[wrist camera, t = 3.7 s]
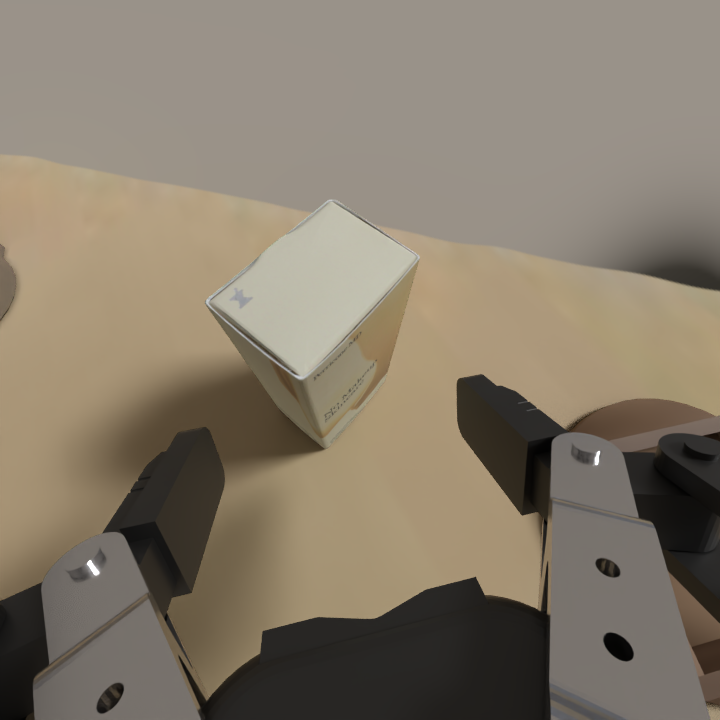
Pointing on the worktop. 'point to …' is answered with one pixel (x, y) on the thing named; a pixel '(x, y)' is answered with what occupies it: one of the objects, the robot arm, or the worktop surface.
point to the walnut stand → (641, 434)
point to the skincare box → (320, 316)
